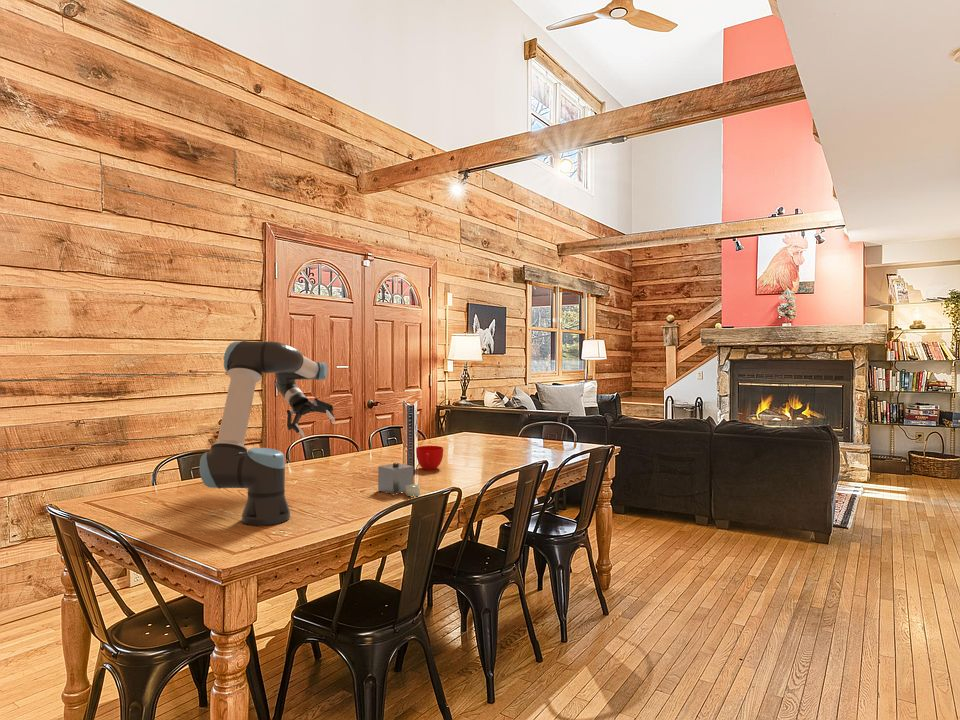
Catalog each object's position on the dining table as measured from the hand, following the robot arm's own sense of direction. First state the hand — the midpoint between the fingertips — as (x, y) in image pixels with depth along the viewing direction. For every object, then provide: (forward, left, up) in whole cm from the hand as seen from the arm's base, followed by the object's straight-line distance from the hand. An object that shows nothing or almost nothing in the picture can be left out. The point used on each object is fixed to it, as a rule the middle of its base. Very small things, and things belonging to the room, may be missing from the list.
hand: (319, 428), depth 247 cm
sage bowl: (-26, -32, -25) cm, 48 cm away
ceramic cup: (+21, -55, -25) cm, 64 cm away
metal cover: (-16, -28, -25) cm, 40 cm away
